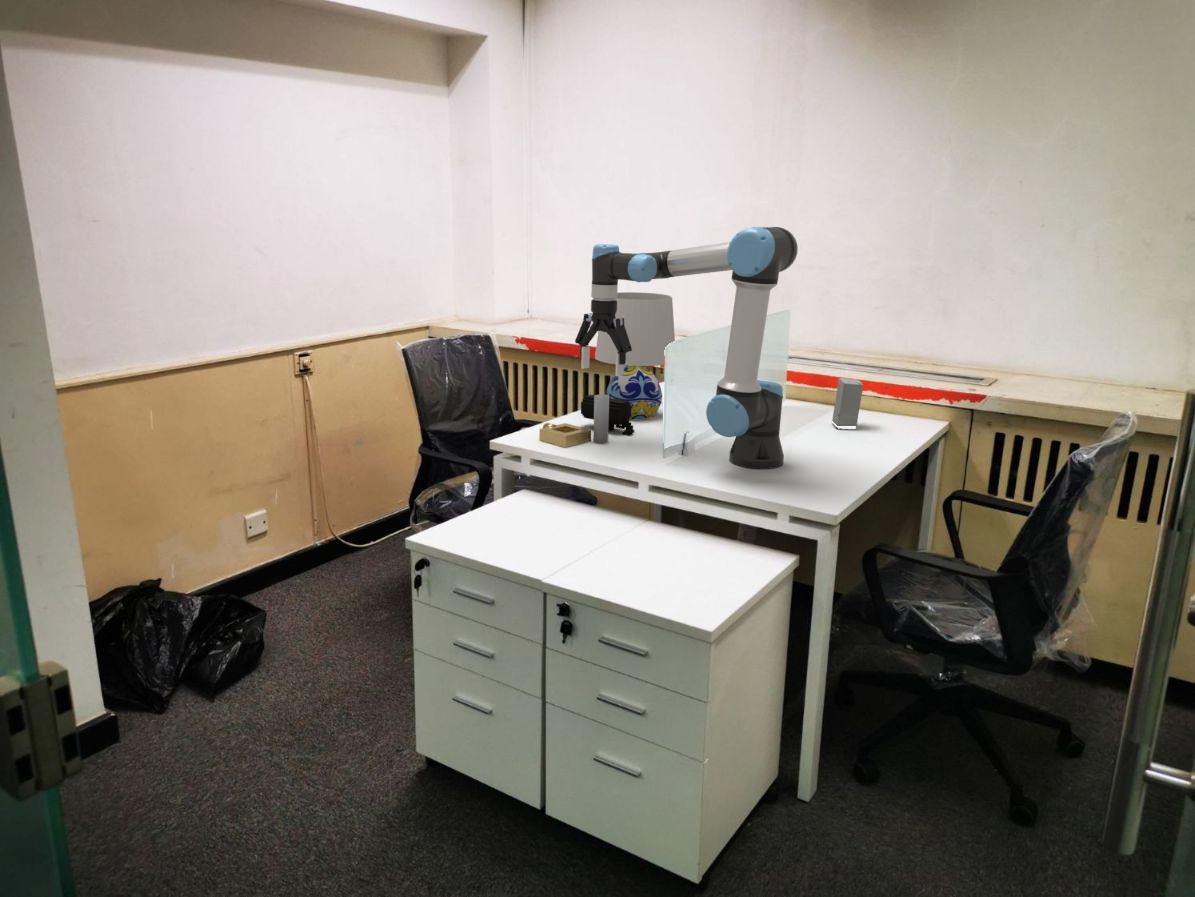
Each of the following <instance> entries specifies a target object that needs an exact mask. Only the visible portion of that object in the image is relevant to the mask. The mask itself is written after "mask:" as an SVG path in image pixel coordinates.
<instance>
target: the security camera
mask: <svg viewBox="0 0 1195 897" xmlns="http://www.w3.org/2000/svg"><path fill="white" fill-rule="evenodd" d="M595 395H596V394H589V395H584V396H583V398H582V401H581V402H580V414H581V415H582V417H583V419H589V420H593V421H594V396H595ZM630 418H631V405H630V403H629V401H624V400H618V399H613V398H609V423H608V433H611V432H614V431H615V428H617V429H622V430H623V431H622V432H621V435H623V436H628V437H629V436H631V435H633V434H634V433H635V429H634V425H633V424H632V422H630V420H631V419H630Z"/></svg>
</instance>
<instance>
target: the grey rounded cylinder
mask: <svg viewBox="0 0 1195 897" xmlns="http://www.w3.org/2000/svg"><path fill="white" fill-rule="evenodd" d="M594 395H595V396H594V420H593V439H592V440H593V443H595V444H600V445H601V444H602V445H603V444H608V443H609V432H608V423H609V396H608V395H606V394H594Z"/></svg>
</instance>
